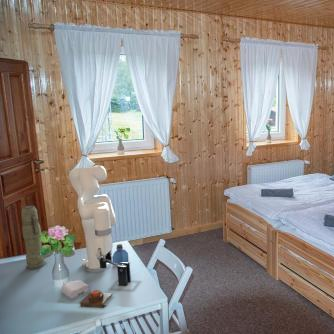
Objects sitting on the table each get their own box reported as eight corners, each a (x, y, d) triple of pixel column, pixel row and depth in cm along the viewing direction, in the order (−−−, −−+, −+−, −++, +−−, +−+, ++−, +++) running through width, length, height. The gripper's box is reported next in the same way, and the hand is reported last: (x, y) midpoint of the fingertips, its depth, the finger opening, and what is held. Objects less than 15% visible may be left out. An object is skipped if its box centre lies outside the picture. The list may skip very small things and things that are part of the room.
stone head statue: (36, 270, 213) (28, 210, 206) (22, 266, 218) (13, 207, 211) (50, 264, 221) (43, 205, 213) (36, 260, 226) (29, 203, 218)
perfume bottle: (123, 267, 216) (121, 248, 213) (113, 267, 217) (111, 247, 214) (128, 263, 222) (127, 243, 219) (118, 262, 223) (117, 242, 220)
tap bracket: (109, 289, 193) (107, 267, 190) (117, 280, 202) (115, 259, 199) (132, 290, 192) (131, 269, 189) (139, 281, 200) (138, 260, 198)
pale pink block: (74, 283, 199) (90, 293, 190) (56, 291, 192) (71, 301, 183) (73, 275, 198) (89, 284, 189) (55, 282, 191) (70, 292, 182)
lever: (101, 263, 193) (102, 259, 192) (106, 259, 197) (107, 255, 197) (123, 273, 192) (124, 269, 192) (127, 268, 197) (128, 264, 197)
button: (90, 297, 179) (89, 293, 179) (94, 293, 183) (93, 289, 183) (97, 297, 179) (97, 294, 179) (101, 293, 183) (101, 290, 182)
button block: (80, 306, 178) (79, 299, 177) (90, 296, 187) (89, 288, 186) (103, 308, 177) (102, 300, 176) (112, 297, 186) (111, 290, 185)
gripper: (103, 225, 200) (106, 257, 204) (87, 237, 184) (90, 272, 187) (117, 225, 199) (120, 258, 203) (102, 238, 183) (105, 273, 187)
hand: (106, 264), depth 195 cm, fingers closed on lever, 5 cm apart
